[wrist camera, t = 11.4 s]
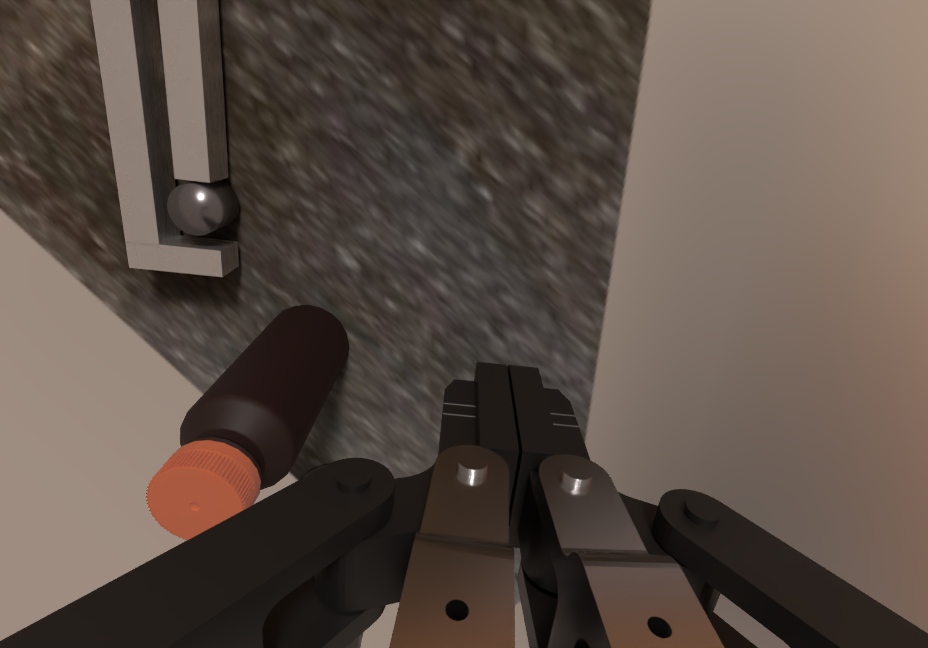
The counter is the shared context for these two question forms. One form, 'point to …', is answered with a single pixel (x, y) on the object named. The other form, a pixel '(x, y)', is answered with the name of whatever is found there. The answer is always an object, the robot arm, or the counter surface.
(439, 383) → the counter surface
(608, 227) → the counter surface
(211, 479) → the bottle
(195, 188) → the leg
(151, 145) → the tongs fixed leg
